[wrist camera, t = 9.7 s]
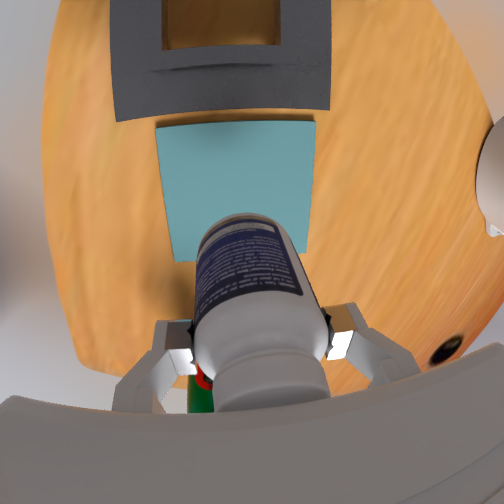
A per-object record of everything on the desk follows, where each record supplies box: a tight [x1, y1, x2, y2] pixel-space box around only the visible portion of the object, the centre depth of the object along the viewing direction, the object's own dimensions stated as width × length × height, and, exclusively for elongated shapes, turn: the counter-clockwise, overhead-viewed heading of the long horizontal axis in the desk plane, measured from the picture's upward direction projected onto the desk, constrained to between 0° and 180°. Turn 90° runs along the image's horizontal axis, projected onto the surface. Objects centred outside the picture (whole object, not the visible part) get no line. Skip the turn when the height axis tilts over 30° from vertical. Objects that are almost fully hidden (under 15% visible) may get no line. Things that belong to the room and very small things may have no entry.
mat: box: [156, 120, 316, 262], centre depth 23 cm, size 12×12×1 cm
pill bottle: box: [194, 212, 331, 413], centre depth 13 cm, size 5×5×10 cm
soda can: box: [187, 363, 214, 414], centre depth 28 cm, size 5×5×12 cm
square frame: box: [110, 0, 331, 122], centre depth 13 cm, size 16×16×4 cm
